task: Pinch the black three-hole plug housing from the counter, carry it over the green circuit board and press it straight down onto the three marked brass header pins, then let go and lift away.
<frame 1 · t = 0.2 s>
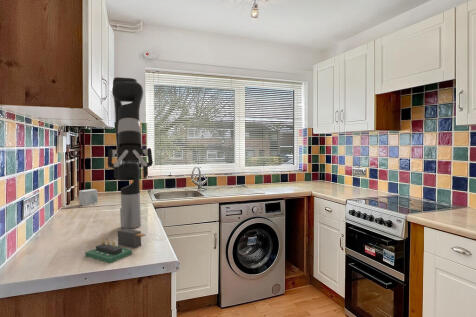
hand: (131, 178, 98), 31 cm above the worktop, tool tilted 20°, fingers open, 8 cm apart
skincare box: (88, 204, 209), on the worktop
plug housing: (129, 244, 124), on the worktop
header board: (108, 254, 113), on the worktop
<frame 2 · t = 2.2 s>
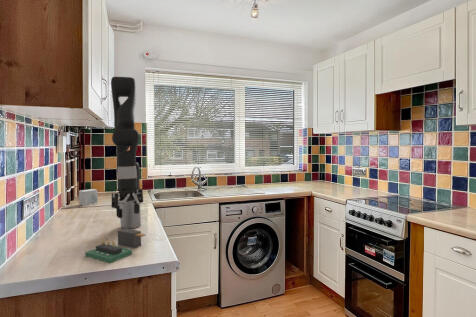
hand: (128, 215, 123), 13 cm above the worktop, tool pointing down, fingers open, 8 cm apart
nothing on the worktop moved.
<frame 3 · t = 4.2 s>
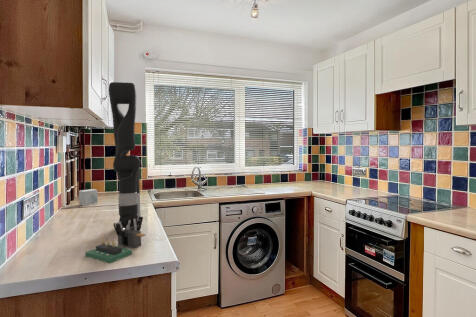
hand: (129, 243, 124), 1 cm above the worktop, tool pointing down, fingers closed on plug housing, 3 cm apart
plug housing: (129, 244, 124), on the worktop, touching gripper
everything else where it was.
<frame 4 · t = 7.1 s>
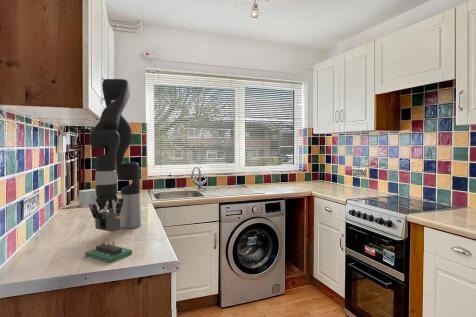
hand: (107, 227, 112), 11 cm above the worktop, tool pointing down, fingers closed on plug housing, 3 cm apart
plug housing: (108, 228, 112), point 10 cm above the worktop, touching gripper
everything else where it was.
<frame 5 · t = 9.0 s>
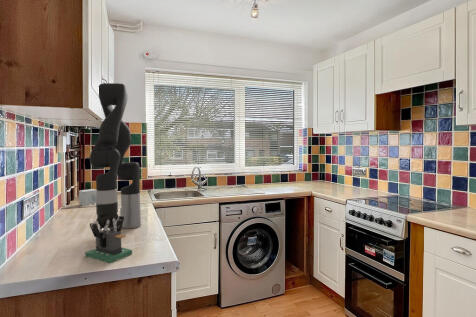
hand: (108, 245, 112), 4 cm above the worktop, tool pointing down, fingers closed on plug housing, 3 cm apart
plug housing: (108, 247, 112), point 3 cm above the worktop, touching gripper, header board
everything else where it was.
when the fingers open (4 cm above the worktop, at t = 10.2 s): plug housing stays where it is, resting on header board.
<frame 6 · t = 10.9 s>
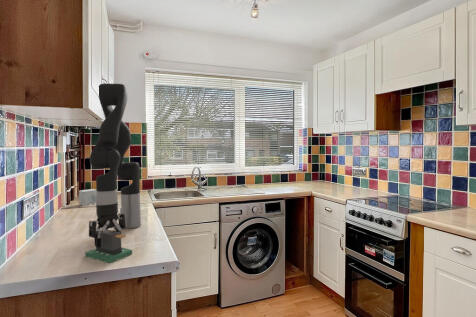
hand: (108, 243, 112), 4 cm above the worktop, tool pointing down, fingers open, 8 cm apart
plug housing: (108, 247, 112), point 3 cm above the worktop, touching header board
everything else where it was.
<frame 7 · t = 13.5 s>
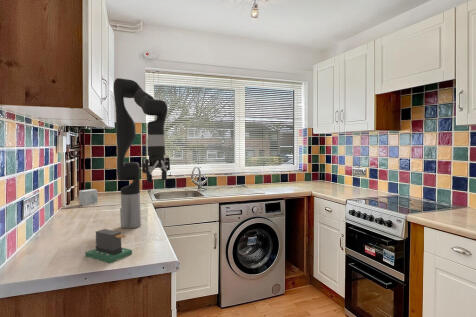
hand: (157, 181, 131), 26 cm above the worktop, tool pointing down, fingers open, 8 cm apart
nothing on the worktop moved.
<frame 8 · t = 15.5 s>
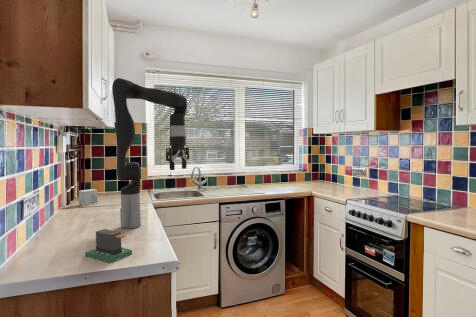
hand: (178, 169, 141), 30 cm above the worktop, tool pointing down, fingers open, 8 cm apart
nothing on the worktop moved.
at the end: plug housing 0.1 cm off-centre on the header board, point 3.0 cm above the header board's base; plug housing tilted 0°; the gripper is holding nothing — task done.
